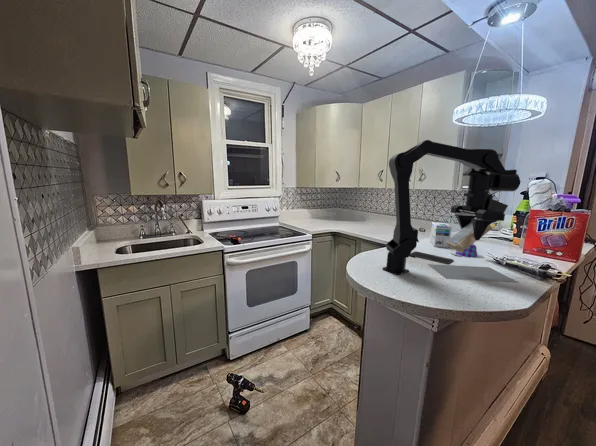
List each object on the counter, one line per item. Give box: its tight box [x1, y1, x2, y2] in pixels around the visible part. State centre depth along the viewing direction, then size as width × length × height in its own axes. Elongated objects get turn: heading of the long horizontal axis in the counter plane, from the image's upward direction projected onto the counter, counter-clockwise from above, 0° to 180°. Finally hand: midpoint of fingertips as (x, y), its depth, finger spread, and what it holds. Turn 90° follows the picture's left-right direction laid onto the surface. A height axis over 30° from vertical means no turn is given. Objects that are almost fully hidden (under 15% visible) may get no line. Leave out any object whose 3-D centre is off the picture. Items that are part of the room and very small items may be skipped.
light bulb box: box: [429, 221, 452, 249], centre depth 124 cm, size 11×7×11 cm, turn 164°
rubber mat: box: [427, 263, 520, 283], centre depth 86 cm, size 22×14×1 cm, turn 86°
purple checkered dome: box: [450, 243, 484, 259], centre depth 108 cm, size 12×12×5 cm
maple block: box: [446, 221, 493, 253], centre depth 83 cm, size 3×6×12 cm
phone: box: [408, 251, 454, 265], centre depth 101 cm, size 8×1×15 cm
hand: (471, 237), depth 83 cm, fingers closed on maple block, 6 cm apart
